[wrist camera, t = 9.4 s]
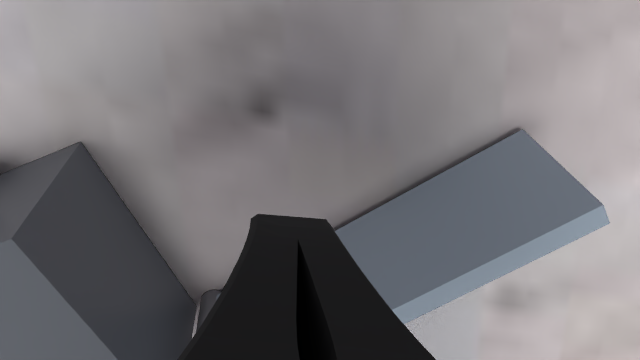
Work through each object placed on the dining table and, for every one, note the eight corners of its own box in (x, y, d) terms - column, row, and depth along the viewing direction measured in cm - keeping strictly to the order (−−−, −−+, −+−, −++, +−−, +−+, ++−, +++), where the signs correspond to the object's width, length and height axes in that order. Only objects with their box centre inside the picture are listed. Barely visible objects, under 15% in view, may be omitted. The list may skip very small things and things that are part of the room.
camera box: (196, 306, 23) (174, 443, 18) (60, 355, 24) (-3, 502, 18) (67, 123, 18) (-21, 229, 13) (-98, 191, 19) (-252, 321, 13)
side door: (222, 324, 24) (210, 445, 19) (195, 297, 23) (175, 417, 18) (533, 159, 21) (621, 248, 16) (517, 122, 20) (605, 203, 15)
